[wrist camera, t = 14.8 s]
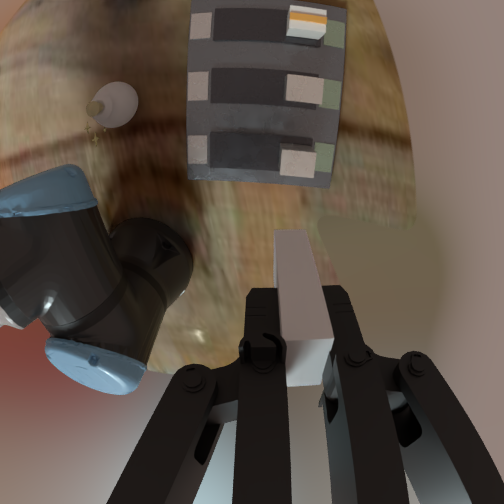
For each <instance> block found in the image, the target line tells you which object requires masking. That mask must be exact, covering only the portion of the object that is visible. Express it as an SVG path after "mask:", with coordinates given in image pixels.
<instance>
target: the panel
mask: <svg viewBox="0 0 504 504" xmlns="http://www.w3.org/2000/svg"><path fill="white" fill-rule="evenodd" d="M290 5H293V6H302V7H309V8H316V9H322V10H327V14H326V17H327V24H326V33H325V34H324V35H323V36H322V37H321V38H320V39H319V40H317V39H310V38H303V37H294V36H286V31H287V15H288V11H289V8H290ZM345 40H346V9H344V8H339V7H334V6H329V5H323V4H318V3H311V2H304V1H296V0H192V2H191V13H190V26H189V42H188V63H187V109H186V126H187V173H188V180H221V181H243V182H259V183H274V184H287V185H298V186H309V187H318V188H328V189H329V188H330V182H331V175H332V169H333V162H334V155H335V147H336V140H337V132H338V124H339V115H340V105H341V95H342V84H343V72H344V58H345Z"/></svg>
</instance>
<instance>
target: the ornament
mask: <svg viewBox="0 0 504 504" xmlns="http://www.w3.org/2000/svg"><path fill="white" fill-rule="evenodd" d="M137 107H138V96H137V93H136V91H135V90H134V88H133V87H132V86H130V85H129V84H127V83H124V82H112V83H109V84H107V85H105V86H103V87H102V88H101V89H100V90H99V91H98V92H97V93H96V95H95V96H94V98H93V99H92V101H91V102H90V103H89V104H88V105H87V108H86V111H87V114H88V115H89V116H90V117H92V118H93V119H95V120H96V121H97V122H98V123H99V124H100V125H102V126H104V130H103V131H105V130H106V129H105V127H107V128H116V127H120V126H122V125H124V124H126V123H127V122H128V121H130V120H131V119H132V117H133V116H134V114H135V113H136V110H137ZM89 128H91V127H88V123H87V128H85V129H87V132H88V131H89ZM98 139H99V138H96V133H95V138H94V139H93V140H92V141H95V143H96V147H97V140H98Z"/></svg>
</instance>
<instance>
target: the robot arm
mask: <svg viewBox="0 0 504 504" xmlns="http://www.w3.org/2000/svg"><path fill="white" fill-rule="evenodd" d="M97 204H98V201H97V199H96V198H94V196H93V194H92V191H91V189H90V187H89V184H88V182H87V179H86V176H85V174H84V172H83V171H82V169H81V168H79V167H78V166H76V165H73V164H66V165H62V166H58V167H55V168H52V169H49V170H46V171H44V172H41V173H38V174H36V175H33V176H30V177H28V178H25V179H23V180H20V181H18V182H16V183H13V184H11V185H9V186H7V187H5V188H3V189H1V190H0V327H1V326H2V325H9V326H12V327H15V328H18V329H23V328H25V327H26V326H27V325H29V324H30V323H31V322H33V321H34V320H35V319H37V318H39V319H40V321H41V322H42V323H43V325H44V326H45V328H46V329H47V330H48V331H49V333H50V335H51V337H50V338H49V339H47V341H46V346H45V352H46V356H47V358H48V359H49V361H51V363H52V364H53V365H54V366H55V367H56V368H57V369H59V370H60V371H61V372H63V373H64V374H66V375H67V376H68V377H70V378H72V379H73V380H75V381H77V382H79V383H81V384H83V385H85V386H87V387H90V388H92V389H95V390H98V391H101V392H105V393H109V394H117V395H124V394H129V393H131V392H132V391H134V390H135V389H136V388H137V387H138V385H139V383H140V381H141V378H142V376H143V374H144V372H145V371H146V370H147V363H148V360H149V357H150V354H151V351H152V348H153V345H154V342H155V339H156V336H157V334H158V331H159V328H160V325H161V323H162V320H163V317H164V314H165V312H166V309H167V308H168V307H169V306H170V305H171V304H172V303H173V302H174V301H175V300H176V299H177V298H178V297H179V296H181V295H182V294H183V292H184V291H185V290H186V288H187V286H188V284H189V281H190V278H191V275H192V271H193V262H192V257H191V254H190V251H189V249H188V247H187V246H186V244H185V242H184V241H183V240H182V239H181V237H180V236H179V235H178V234H177V233H176V232H174V231H173V230H172V229H171V228H169V227H168V226H166V225H164V224H162V223H160V222H158V221H155V220H151V219H146V218H134V219H129V220H126V221H124V222H122V223H121V224H119V225H118V226H117V227H116V228H115V229H114V230H113V231H112V233H111V234H110V235H108V233H107V230H106V228H105V225H104V223H103V220H102V218H101V215H100V212H99V210H98V207H97ZM238 348H239V356H240V357H239V358H238V359H237V360H236V361H234V362H233V363H231V364H229V365H227V366H224V367H220V368H216V369H212V370H210V368H208V367H206V366H204V365H201V364H190V365H185V366H184V367H182V368H180V369H179V370H178V371H177V372H176V373H175V374H174V376H173V377H172V379H171V381H170V383H169V385H168V387H167V388H166V390H165V392H164V394H163V396H162V398H161V400H160V402H159V404H158V405H157V407H156V409H155V411H154V413H153V415H152V417H151V419H150V420H149V422H148V424H147V426H146V428H145V430H144V432H143V434H142V436H141V438H140V440H139V441H138V444H137V445H136V447H135V449H134V451H133V453H132V455H131V457H130V459H129V461H128V463H127V465H126V466H125V468H124V470H123V472H122V474H121V476H120V478H119V480H118V482H117V484H116V486H115V488H114V490H113V492H112V494H111V496H110V498H109V500H108V502H107V503H106V504H193V501H194V499H195V497H196V494H197V491H198V489H199V487H200V484H201V482H202V480H203V477H204V475H205V472H206V470H207V467H208V465H209V462H210V460H211V457H212V455H213V452H214V449H215V447H216V444H217V442H218V439H219V437H220V434H221V431H222V429H223V426H224V423H227V422H231V421H234V420H237V427H236V444H235V462H234V479H233V497H232V504H292V496H291V462H290V437H289V418H288V398H287V387H288V386H306V385H319V384H321V380H322V378H323V385H324V390H323V393H322V396H321V398H320V401H319V406H318V407H322V404H323V410H324V419H325V428H326V438H327V447H328V457H329V468H330V480H331V494H332V504H409V497H408V490H407V483H406V477H405V472H406V474H407V476H408V478H409V480H410V482H411V484H412V486H413V489H414V491H415V493H416V495H417V497H418V500H419V502H420V504H504V483H503V481H502V479H501V476H500V474H499V472H498V470H497V468H496V466H495V464H494V462H493V460H492V458H491V456H490V454H489V452H488V451H487V449H486V447H485V445H484V443H483V441H482V439H481V438H480V436H479V434H478V432H477V431H476V429H475V427H474V425H473V424H472V422H471V420H470V419H469V417H468V415H467V414H466V412H465V411H464V409H463V407H462V406H461V404H460V403H459V401H458V399H457V398H456V396H455V395H454V393H453V392H452V390H451V389H450V387H449V385H448V384H447V382H446V381H445V380H444V378H443V376H442V375H441V374H440V372H439V371H438V369H437V368H436V366H435V365H434V363H433V362H432V361H431V359H429V357H428V356H427V355H425V354H423V353H421V352H417V351H411V352H407V353H406V354H404V355H403V356H402V357H401V359H394V358H387V357H382V356H379V355H377V354H375V353H374V352H373V350H372V349H371V348H370V347H368V346H367V345H365V343H364V341H363V337H362V334H361V331H360V328H359V325H358V322H357V319H356V316H355V313H354V310H353V307H352V305H351V302H350V298H349V296H348V293H347V292H346V291H345V290H344V289H343V288H342V287H341V286H340V285H330V286H321V283H320V279H319V275H318V271H317V268H316V264H315V261H314V257H313V254H312V250H311V247H310V243H309V240H308V236H307V233H306V230H305V229H301V230H274V288H252V289H251V291H250V292H249V294H248V295H247V297H246V310H245V326H244V337H243V338H242V339H241V341H240V344H239V347H238ZM404 470H405V472H404Z"/></svg>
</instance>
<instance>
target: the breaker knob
mask: <svg viewBox="0 0 504 504" xmlns="http://www.w3.org/2000/svg"><path fill="white" fill-rule="evenodd" d="M326 14H327V10H322V9H316V8H309V7H302V6H293V5H290V8H289V11H288V15H287V31H286V36H294V37H303V38H310V39H317V40H319V39H320V38H321V37H322V36H323V35H324V34H325V33H326V24H327V17H326Z"/></svg>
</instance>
